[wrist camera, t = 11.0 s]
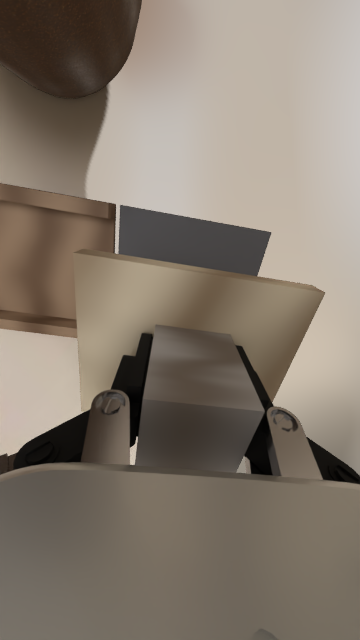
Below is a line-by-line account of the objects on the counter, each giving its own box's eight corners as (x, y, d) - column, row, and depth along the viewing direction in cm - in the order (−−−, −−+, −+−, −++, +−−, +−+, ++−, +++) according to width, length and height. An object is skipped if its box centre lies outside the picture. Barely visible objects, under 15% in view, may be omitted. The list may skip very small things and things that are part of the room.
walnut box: (116, 204, 21) (108, 203, 18) (112, 330, 27) (106, 341, 25) (-45, 175, 20) (-74, 170, 17) (-10, 314, 26) (-29, 324, 23)
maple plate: (311, 285, 12) (434, 351, 6) (253, 414, 16) (295, 520, 11) (83, 248, 11) (-17, 288, 5) (88, 397, 15) (37, 505, 9)
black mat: (269, 231, 22) (271, 232, 22) (233, 346, 28) (233, 347, 28) (121, 205, 21) (120, 204, 20) (116, 330, 27) (115, 332, 27)
